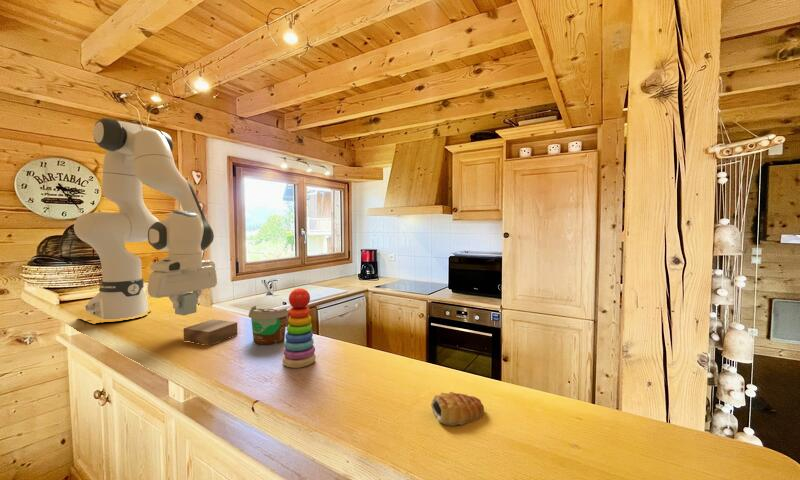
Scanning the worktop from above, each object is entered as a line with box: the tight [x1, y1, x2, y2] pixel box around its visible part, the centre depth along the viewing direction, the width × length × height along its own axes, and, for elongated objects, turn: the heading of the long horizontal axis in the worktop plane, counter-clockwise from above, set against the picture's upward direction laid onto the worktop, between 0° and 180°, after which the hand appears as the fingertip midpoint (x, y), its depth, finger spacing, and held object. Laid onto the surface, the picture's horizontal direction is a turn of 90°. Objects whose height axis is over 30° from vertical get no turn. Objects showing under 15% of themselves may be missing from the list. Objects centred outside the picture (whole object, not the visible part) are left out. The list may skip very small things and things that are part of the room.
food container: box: [248, 305, 289, 347], centre depth 93 cm, size 12×6×10 cm, turn 73°
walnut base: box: [183, 318, 238, 347], centre depth 97 cm, size 10×10×4 cm
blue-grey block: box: [174, 292, 198, 316], centre depth 100 cm, size 4×4×6 cm
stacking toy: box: [282, 287, 317, 369], centre depth 80 cm, size 8×8×19 cm
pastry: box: [430, 391, 485, 427], centre depth 58 cm, size 9×7×4 cm
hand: (185, 306), depth 100 cm, fingers closed on blue-grey block, 4 cm apart
